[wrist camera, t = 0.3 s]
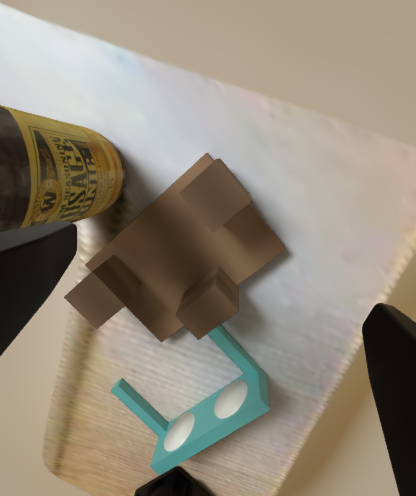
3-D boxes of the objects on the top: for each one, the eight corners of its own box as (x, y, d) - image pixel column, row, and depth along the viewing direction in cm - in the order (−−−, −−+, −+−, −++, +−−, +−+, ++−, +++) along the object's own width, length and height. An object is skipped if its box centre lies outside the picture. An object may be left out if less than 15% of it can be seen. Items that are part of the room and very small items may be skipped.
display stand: (162, 339, 28) (146, 377, 23) (88, 263, 26) (54, 287, 21) (290, 242, 24) (303, 264, 19) (213, 148, 22) (206, 146, 18)
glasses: (170, 436, 31) (160, 476, 27) (114, 383, 29) (96, 417, 26) (266, 375, 28) (271, 410, 24) (209, 313, 26) (204, 340, 23)
